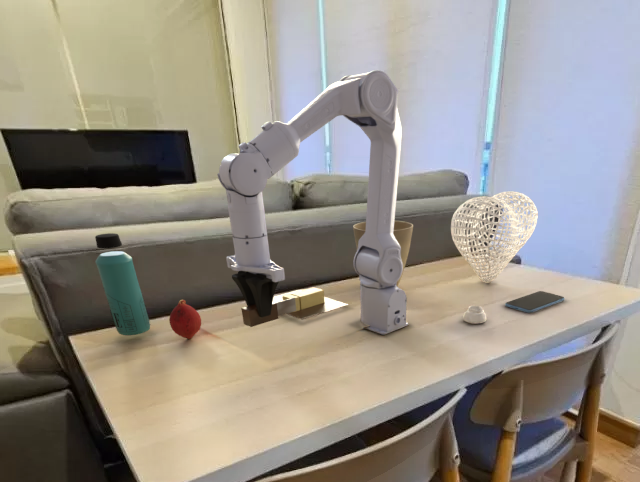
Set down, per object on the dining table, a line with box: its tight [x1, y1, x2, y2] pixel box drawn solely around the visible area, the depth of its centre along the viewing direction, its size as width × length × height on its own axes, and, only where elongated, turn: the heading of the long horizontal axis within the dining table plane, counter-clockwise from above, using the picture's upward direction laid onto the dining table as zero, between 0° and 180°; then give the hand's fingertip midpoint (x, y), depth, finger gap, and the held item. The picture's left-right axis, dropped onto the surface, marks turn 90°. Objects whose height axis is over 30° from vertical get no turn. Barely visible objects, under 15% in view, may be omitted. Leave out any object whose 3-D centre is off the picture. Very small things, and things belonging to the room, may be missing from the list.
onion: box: [168, 299, 202, 340], centre depth 91 cm, size 6×6×8 cm
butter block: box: [291, 286, 325, 310], centre depth 107 cm, size 4×7×3 cm, turn 136°
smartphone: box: [504, 290, 565, 314], centre depth 110 cm, size 7×1×15 cm
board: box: [273, 289, 350, 321], centre depth 109 cm, size 18×14×1 cm
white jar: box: [462, 305, 488, 325], centre depth 100 cm, size 5×3×5 cm
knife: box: [241, 297, 296, 328], centre depth 85 cm, size 11×2×3 cm, turn 136°
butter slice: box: [282, 294, 300, 312], centre depth 104 cm, size 4×2×3 cm, turn 46°
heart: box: [450, 190, 539, 284], centre depth 121 cm, size 28×16×22 cm, turn 139°
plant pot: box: [352, 220, 414, 288], centre depth 118 cm, size 15×15×16 cm
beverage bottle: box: [94, 232, 152, 336], centre depth 89 cm, size 6×7×20 cm
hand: (260, 313), depth 84 cm, fingers closed on knife, 2 cm apart
